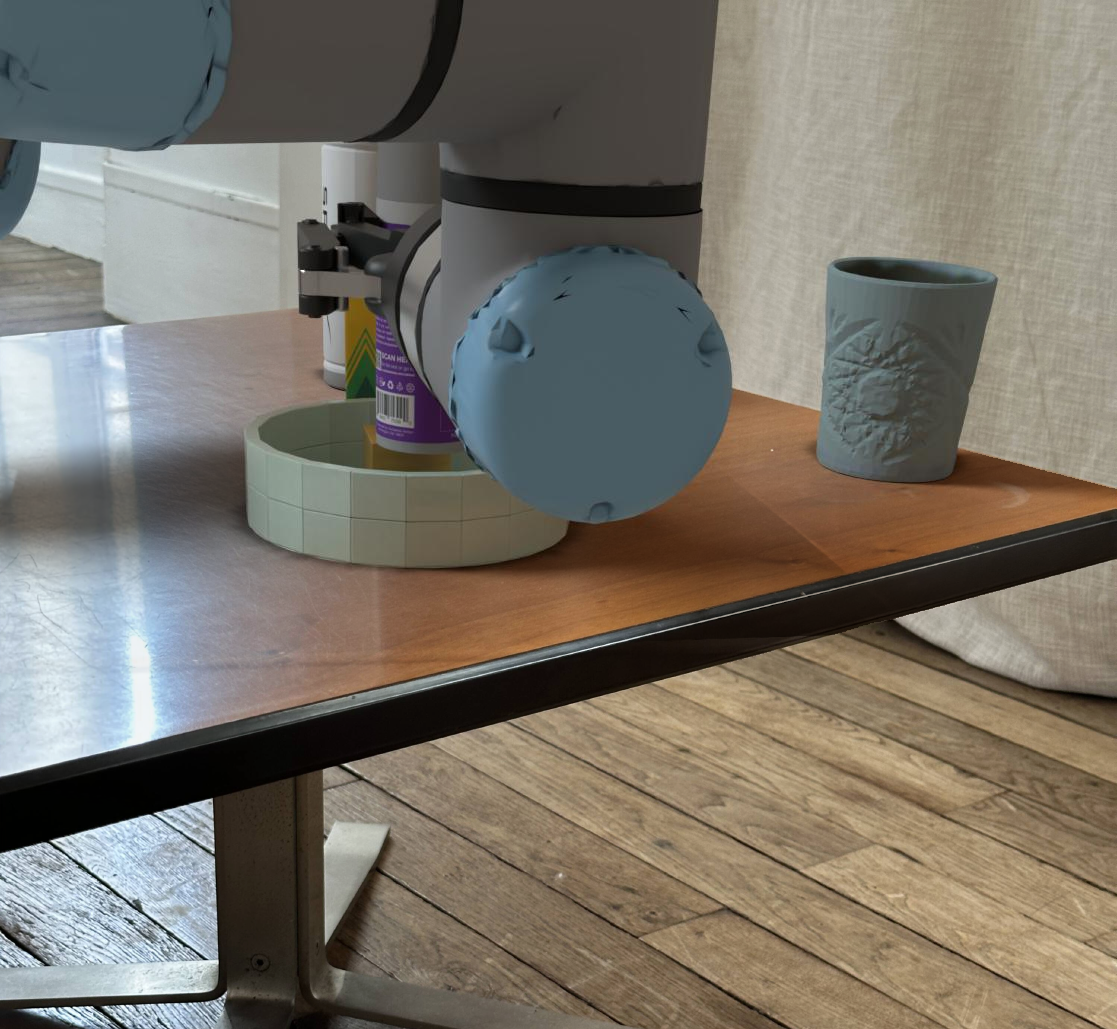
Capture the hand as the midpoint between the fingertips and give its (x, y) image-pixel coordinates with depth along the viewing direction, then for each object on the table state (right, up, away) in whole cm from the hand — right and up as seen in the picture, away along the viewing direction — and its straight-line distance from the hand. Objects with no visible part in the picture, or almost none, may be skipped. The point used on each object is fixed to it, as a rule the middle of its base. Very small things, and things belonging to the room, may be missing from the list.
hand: (411, 233), depth 76 cm
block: (-1, -12, +6) cm, 14 cm away
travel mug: (-7, +1, +38) cm, 38 cm away
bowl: (-1, -14, +5) cm, 15 cm away
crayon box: (-4, -6, +22) cm, 23 cm away
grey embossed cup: (+28, -7, +23) cm, 37 cm away
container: (+1, -11, -1) cm, 11 cm away
